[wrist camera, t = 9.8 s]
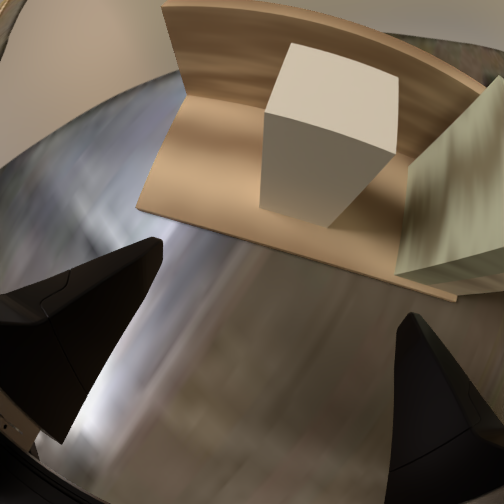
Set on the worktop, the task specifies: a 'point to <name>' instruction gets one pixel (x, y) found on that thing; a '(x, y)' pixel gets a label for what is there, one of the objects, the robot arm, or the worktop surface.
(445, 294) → the wooden stand
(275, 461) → the worktop surface
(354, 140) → the bookend
